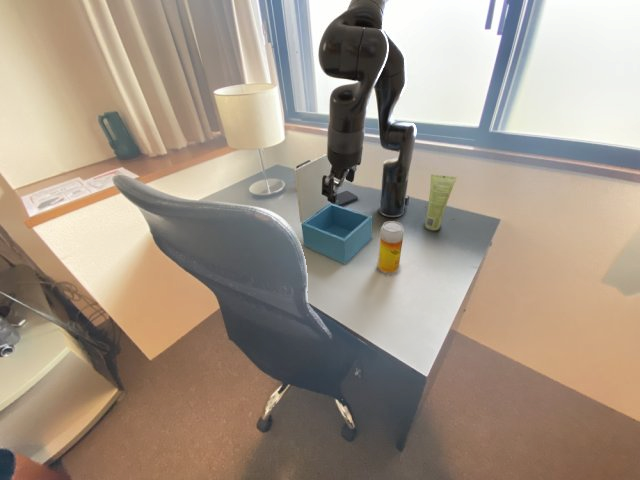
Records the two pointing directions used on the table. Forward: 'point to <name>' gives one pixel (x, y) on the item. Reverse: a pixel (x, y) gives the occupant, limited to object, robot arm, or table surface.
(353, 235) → the blue open box
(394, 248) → the beer can
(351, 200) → the smart home device
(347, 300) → the table surface
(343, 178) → the robot arm
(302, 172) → the lid
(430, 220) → the tube
